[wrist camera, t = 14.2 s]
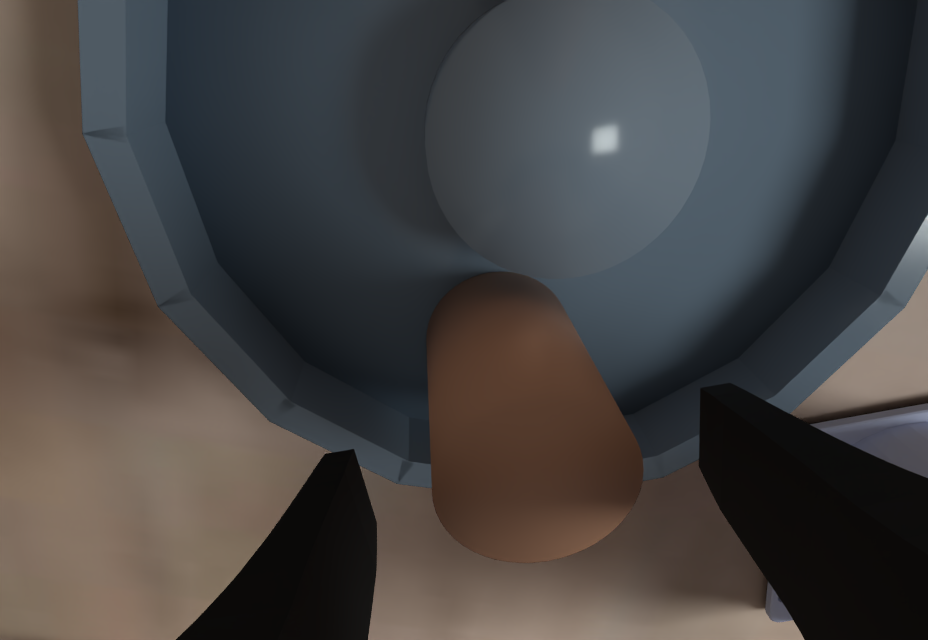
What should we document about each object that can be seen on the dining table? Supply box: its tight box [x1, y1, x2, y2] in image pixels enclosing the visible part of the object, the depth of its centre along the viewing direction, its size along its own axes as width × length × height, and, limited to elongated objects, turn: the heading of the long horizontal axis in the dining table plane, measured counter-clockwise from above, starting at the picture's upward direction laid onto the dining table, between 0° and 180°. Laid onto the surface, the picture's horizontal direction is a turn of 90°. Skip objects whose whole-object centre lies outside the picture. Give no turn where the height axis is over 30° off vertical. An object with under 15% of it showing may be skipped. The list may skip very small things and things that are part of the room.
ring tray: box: [78, 0, 928, 488], centre depth 14 cm, size 19×19×3 cm
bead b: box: [426, 272, 644, 563], centre depth 14 cm, size 4×4×6 cm
